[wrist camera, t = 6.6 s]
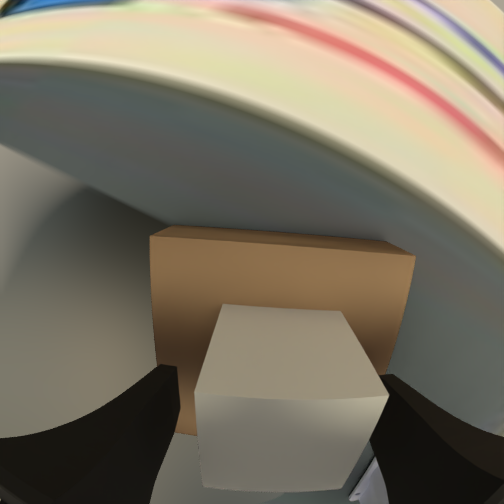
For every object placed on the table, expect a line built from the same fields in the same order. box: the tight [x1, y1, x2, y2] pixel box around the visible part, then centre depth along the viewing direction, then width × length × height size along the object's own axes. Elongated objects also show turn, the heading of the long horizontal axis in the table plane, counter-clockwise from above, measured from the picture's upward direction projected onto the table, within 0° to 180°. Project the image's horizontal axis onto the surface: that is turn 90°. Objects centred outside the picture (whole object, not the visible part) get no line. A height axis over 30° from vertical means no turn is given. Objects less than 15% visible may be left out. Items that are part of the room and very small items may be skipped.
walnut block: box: [150, 225, 416, 436], centre depth 12 cm, size 10×10×3 cm
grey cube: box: [194, 304, 389, 492], centre depth 8 cm, size 4×4×5 cm
